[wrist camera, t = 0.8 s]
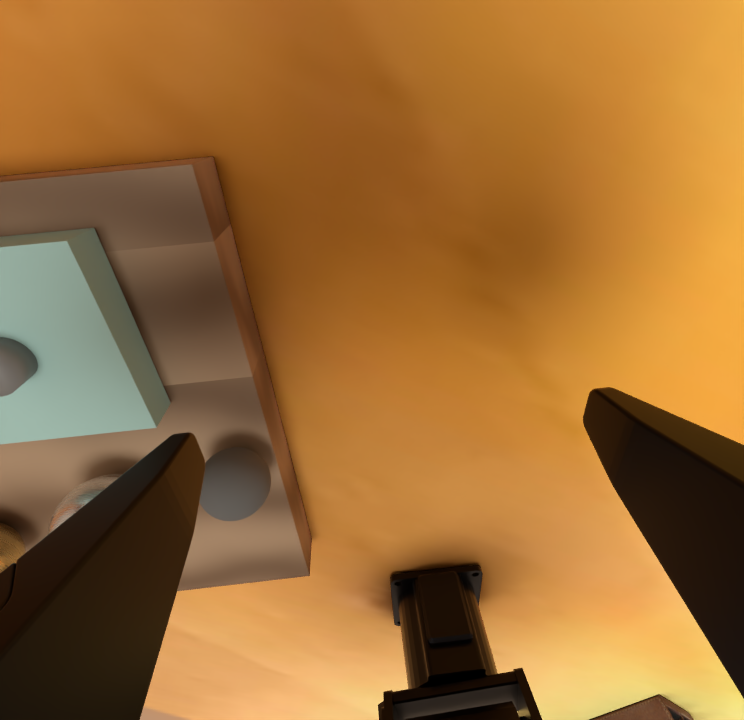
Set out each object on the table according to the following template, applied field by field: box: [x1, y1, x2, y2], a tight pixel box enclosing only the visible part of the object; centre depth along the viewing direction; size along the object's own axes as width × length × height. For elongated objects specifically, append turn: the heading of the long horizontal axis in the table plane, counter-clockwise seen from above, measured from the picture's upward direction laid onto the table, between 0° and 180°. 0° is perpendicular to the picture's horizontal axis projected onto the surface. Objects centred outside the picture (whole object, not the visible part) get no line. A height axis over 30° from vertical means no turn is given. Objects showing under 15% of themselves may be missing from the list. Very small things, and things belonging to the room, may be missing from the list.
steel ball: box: [48, 474, 123, 534], centre depth 17 cm, size 4×4×4 cm
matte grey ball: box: [199, 447, 271, 521], centre depth 17 cm, size 3×3×3 cm
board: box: [0, 157, 312, 591], centre depth 19 cm, size 22×16×2 cm
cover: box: [0, 228, 170, 444], centre depth 13 cm, size 7×7×2 cm
